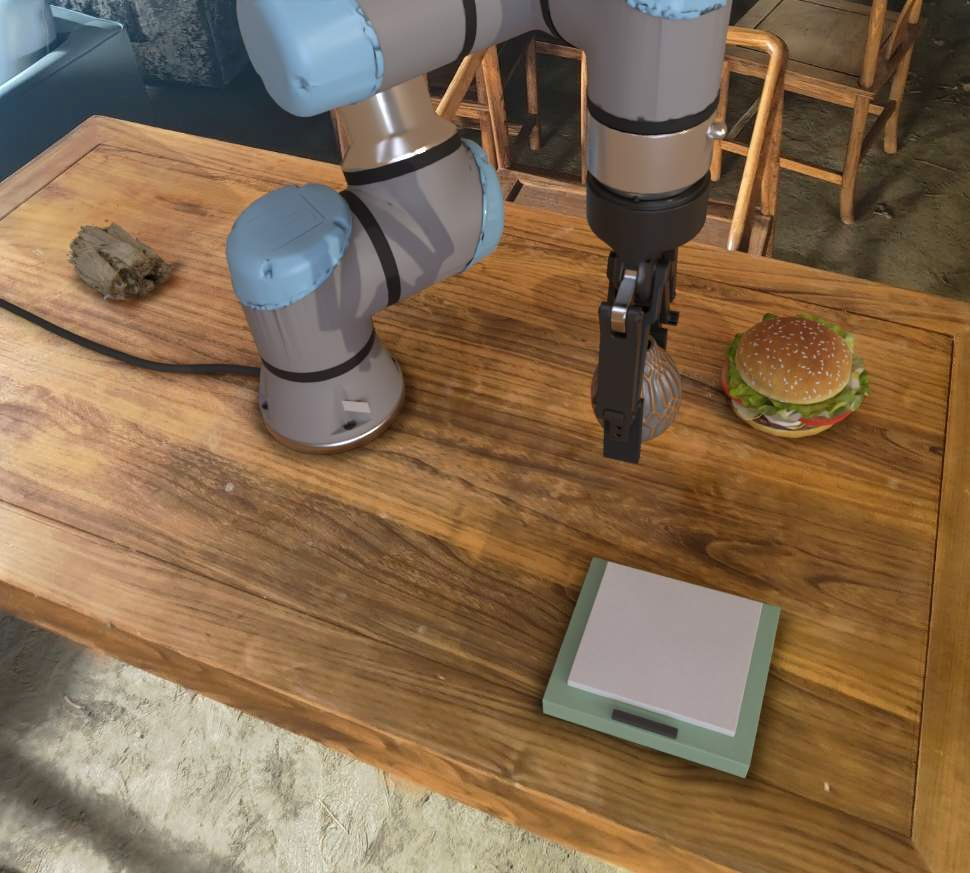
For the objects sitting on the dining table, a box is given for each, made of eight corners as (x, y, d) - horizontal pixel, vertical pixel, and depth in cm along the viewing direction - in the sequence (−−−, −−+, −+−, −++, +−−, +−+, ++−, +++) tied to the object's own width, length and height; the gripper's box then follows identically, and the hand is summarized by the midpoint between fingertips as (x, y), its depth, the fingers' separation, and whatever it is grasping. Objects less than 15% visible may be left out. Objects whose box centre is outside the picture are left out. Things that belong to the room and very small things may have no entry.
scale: (542, 713, 74) (541, 695, 72) (592, 571, 82) (593, 550, 80) (745, 778, 70) (751, 761, 67) (776, 621, 78) (783, 601, 75)
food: (854, 463, 88) (874, 407, 82) (705, 431, 92) (715, 375, 86) (868, 365, 96) (888, 307, 90) (731, 339, 100) (741, 282, 94)
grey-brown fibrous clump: (190, 278, 114) (176, 243, 110) (123, 320, 110) (106, 284, 106) (126, 234, 121) (111, 199, 117) (61, 271, 117) (43, 237, 113)
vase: (676, 460, 71) (684, 379, 64) (585, 452, 72) (585, 372, 65) (680, 395, 75) (689, 313, 68) (595, 389, 76) (595, 307, 70)
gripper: (674, 278, 49) (651, 531, 66) (740, 91, 61) (706, 346, 78) (539, 256, 51) (550, 507, 68) (628, 80, 63) (619, 331, 80)
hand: (633, 421), depth 73 cm, fingers closed on vase, 7 cm apart
